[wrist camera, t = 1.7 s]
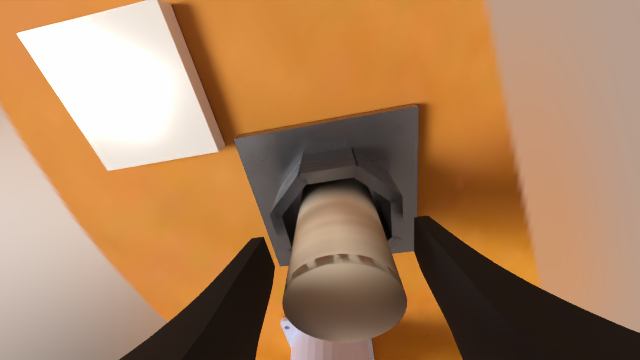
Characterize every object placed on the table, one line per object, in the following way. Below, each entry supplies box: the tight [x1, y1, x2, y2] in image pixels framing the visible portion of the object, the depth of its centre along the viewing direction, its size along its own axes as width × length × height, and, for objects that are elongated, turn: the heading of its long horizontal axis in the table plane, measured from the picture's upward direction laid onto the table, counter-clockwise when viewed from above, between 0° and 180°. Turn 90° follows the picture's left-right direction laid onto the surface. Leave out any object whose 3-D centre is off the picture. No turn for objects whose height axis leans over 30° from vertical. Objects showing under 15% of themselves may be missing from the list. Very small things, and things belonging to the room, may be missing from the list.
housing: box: [234, 104, 419, 266], centre depth 14 cm, size 10×10×3 cm
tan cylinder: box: [282, 177, 407, 342], centre depth 11 cm, size 4×4×7 cm
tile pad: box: [17, 0, 225, 171], centre depth 12 cm, size 7×7×1 cm
